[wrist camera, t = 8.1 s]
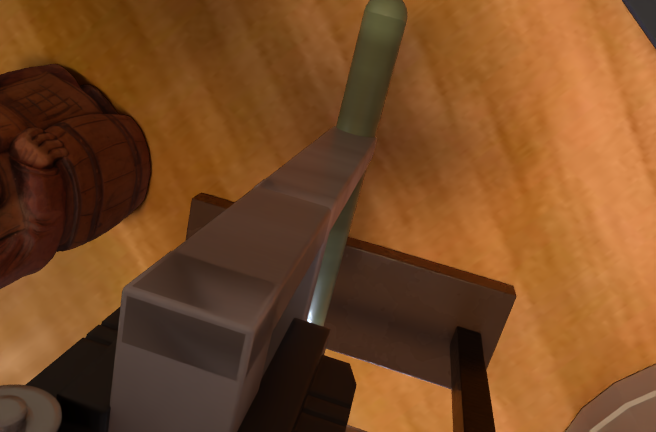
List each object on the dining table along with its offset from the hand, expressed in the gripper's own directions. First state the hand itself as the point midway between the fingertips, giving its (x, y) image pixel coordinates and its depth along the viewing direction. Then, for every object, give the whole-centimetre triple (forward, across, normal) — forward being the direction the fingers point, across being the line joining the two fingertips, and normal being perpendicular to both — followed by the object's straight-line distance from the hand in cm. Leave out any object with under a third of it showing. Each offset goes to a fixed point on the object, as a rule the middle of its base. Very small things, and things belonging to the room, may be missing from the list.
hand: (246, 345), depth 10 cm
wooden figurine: (+25, +19, +5) cm, 32 cm away
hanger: (+10, 0, 0) cm, 10 cm away
